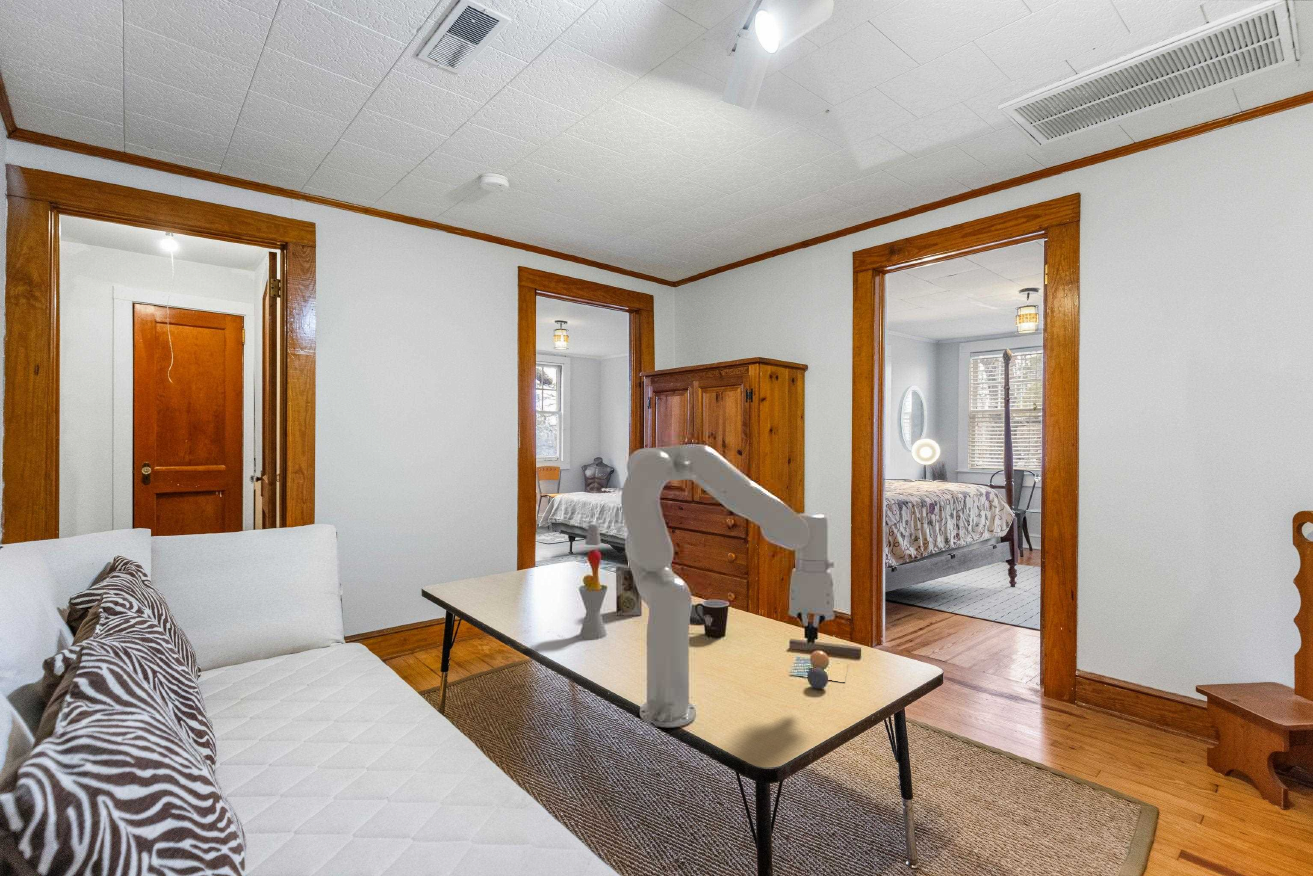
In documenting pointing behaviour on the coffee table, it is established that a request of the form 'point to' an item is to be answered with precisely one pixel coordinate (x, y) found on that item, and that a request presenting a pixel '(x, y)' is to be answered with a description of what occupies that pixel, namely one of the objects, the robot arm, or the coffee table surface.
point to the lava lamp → (593, 591)
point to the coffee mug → (714, 617)
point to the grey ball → (817, 678)
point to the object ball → (819, 660)
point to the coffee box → (627, 593)
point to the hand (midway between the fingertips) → (811, 641)
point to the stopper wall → (825, 648)
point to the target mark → (806, 661)
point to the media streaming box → (694, 617)
